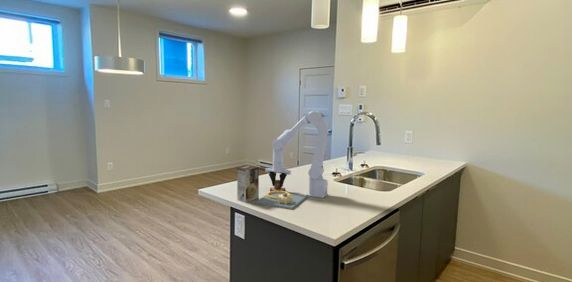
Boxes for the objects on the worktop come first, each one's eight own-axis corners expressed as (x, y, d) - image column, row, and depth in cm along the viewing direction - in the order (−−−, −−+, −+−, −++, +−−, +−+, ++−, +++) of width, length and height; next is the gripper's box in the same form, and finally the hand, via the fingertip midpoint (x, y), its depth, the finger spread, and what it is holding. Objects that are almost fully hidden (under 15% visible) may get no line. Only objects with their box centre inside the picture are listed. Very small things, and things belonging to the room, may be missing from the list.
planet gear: (287, 189, 173) (288, 179, 172) (281, 193, 165) (281, 183, 165) (273, 187, 176) (274, 178, 176) (267, 191, 169) (267, 181, 168)
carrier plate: (306, 198, 159) (306, 188, 158) (292, 209, 141) (292, 198, 141) (272, 193, 166) (272, 184, 165) (255, 203, 149) (255, 193, 148)
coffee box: (250, 195, 161) (250, 164, 159) (259, 198, 157) (259, 166, 155) (236, 199, 154) (236, 167, 152) (245, 202, 150) (245, 169, 148)
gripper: (293, 161, 170) (292, 186, 171) (269, 159, 175) (269, 182, 177) (288, 163, 163) (287, 189, 165) (263, 161, 169) (263, 185, 171)
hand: (277, 186), depth 170 cm, fingers open, 4 cm apart
